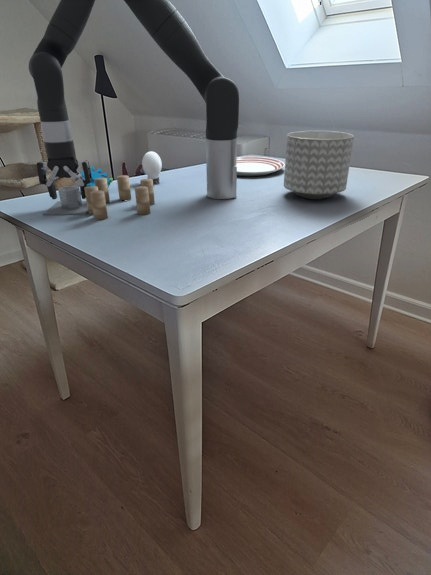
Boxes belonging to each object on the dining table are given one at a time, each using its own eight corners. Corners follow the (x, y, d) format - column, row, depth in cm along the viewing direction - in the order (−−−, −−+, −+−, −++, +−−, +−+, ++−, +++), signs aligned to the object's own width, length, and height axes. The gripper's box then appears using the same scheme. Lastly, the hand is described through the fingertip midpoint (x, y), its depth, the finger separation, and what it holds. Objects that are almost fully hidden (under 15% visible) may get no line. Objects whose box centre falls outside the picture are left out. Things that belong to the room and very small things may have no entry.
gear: (80, 191, 125) (76, 164, 128) (79, 201, 130) (76, 175, 133) (115, 192, 129) (111, 166, 132) (112, 201, 135) (109, 176, 137)
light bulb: (161, 180, 144) (158, 149, 138) (164, 184, 138) (162, 152, 133) (142, 182, 142) (139, 150, 136) (145, 186, 136) (142, 153, 131)
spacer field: (157, 197, 124) (155, 174, 120) (147, 219, 105) (144, 193, 101) (102, 198, 124) (98, 175, 121) (81, 220, 105) (76, 194, 102)
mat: (97, 202, 120) (97, 201, 119) (85, 214, 109) (85, 213, 109) (58, 202, 120) (57, 201, 120) (42, 215, 109) (42, 213, 109)
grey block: (83, 204, 117) (80, 185, 114) (77, 209, 112) (74, 190, 109) (67, 204, 117) (63, 185, 114) (60, 210, 112) (56, 190, 109)
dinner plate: (289, 178, 145) (289, 169, 143) (215, 179, 146) (215, 170, 144) (280, 164, 169) (280, 156, 168) (216, 164, 170) (216, 156, 168)
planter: (355, 195, 124) (365, 134, 115) (325, 208, 112) (333, 141, 103) (303, 185, 136) (308, 129, 127) (270, 196, 123) (274, 135, 115)
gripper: (88, 136, 109) (97, 194, 116) (37, 137, 109) (49, 195, 116) (80, 140, 102) (90, 202, 110) (25, 141, 102) (39, 202, 110)
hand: (69, 198), depth 113 cm, fingers open, 8 cm apart
